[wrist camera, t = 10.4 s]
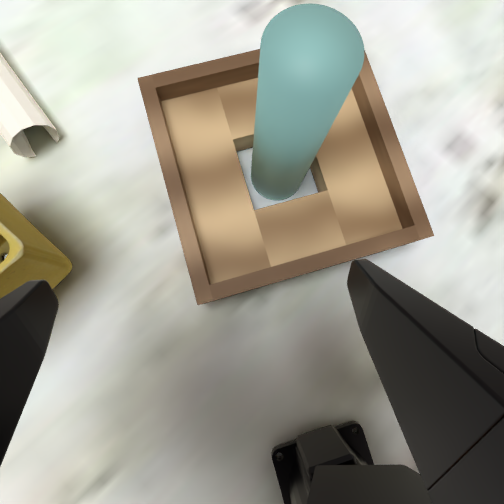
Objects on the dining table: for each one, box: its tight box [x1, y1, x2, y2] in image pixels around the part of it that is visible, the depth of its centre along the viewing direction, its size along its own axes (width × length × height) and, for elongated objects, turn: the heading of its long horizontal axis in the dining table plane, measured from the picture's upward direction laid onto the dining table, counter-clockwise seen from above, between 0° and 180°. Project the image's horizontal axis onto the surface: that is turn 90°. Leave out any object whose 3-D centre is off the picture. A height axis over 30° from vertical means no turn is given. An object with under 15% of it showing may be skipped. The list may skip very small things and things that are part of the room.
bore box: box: [138, 49, 434, 305], centre depth 22 cm, size 16×16×4 cm
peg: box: [251, 4, 364, 200], centre depth 18 cm, size 4×4×12 cm
